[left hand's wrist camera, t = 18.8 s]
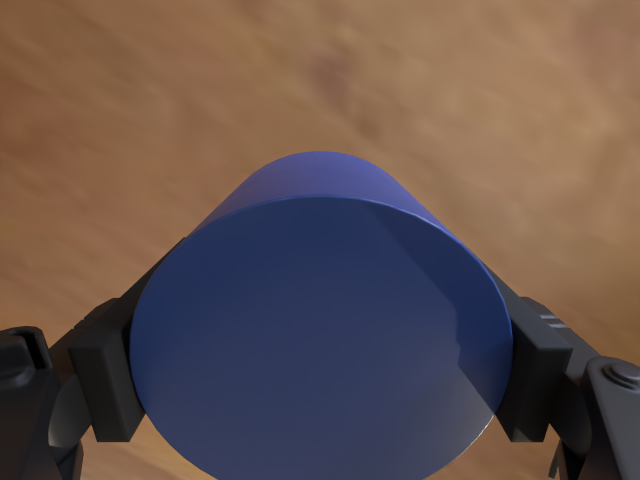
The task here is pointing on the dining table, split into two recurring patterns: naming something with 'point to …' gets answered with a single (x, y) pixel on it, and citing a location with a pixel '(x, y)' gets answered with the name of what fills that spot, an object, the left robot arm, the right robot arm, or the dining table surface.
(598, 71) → the dining table surface
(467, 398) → the cylinder
